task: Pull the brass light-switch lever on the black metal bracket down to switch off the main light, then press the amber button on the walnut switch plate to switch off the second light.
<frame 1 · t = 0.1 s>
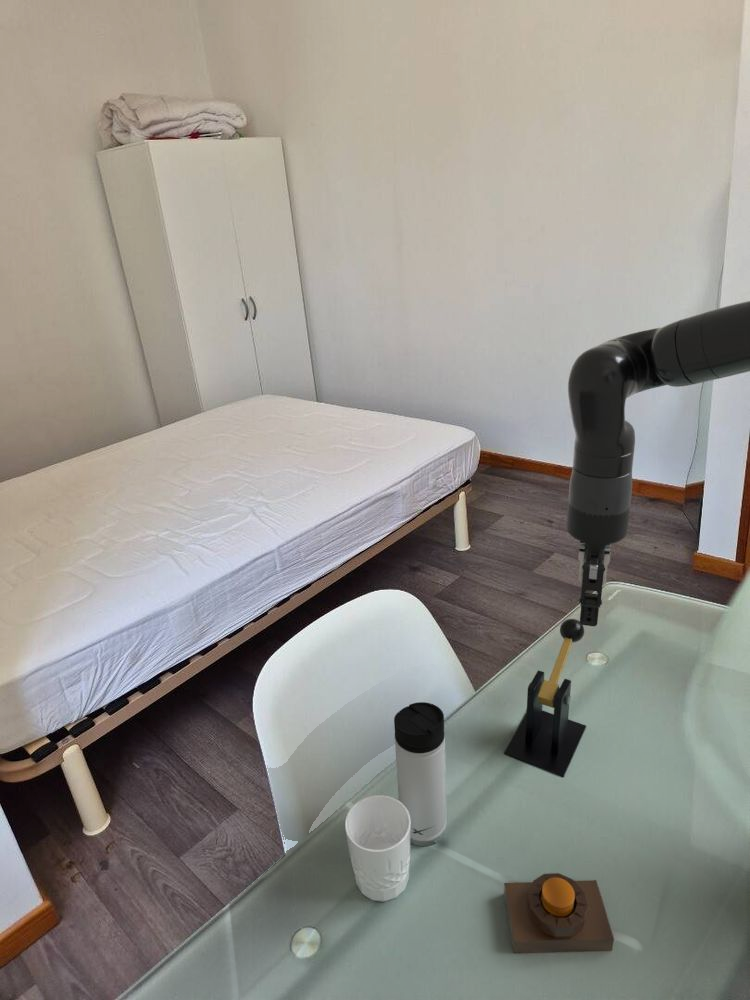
hand: (589, 606, 94), 25 cm above the table, tool pointing down, fingers open, 8 cm apart
off button: (557, 896, 78), point 4 cm above the table, slide at 0.1 cm
switch plate: (555, 921, 80), on the table
white cup: (382, 877, 87), on the table
travel mug: (424, 828, 93), on the table
switch lever: (561, 660, 103), point 12 cm above the table, hinge at 25.0°
switch bracket: (545, 744, 104), on the table
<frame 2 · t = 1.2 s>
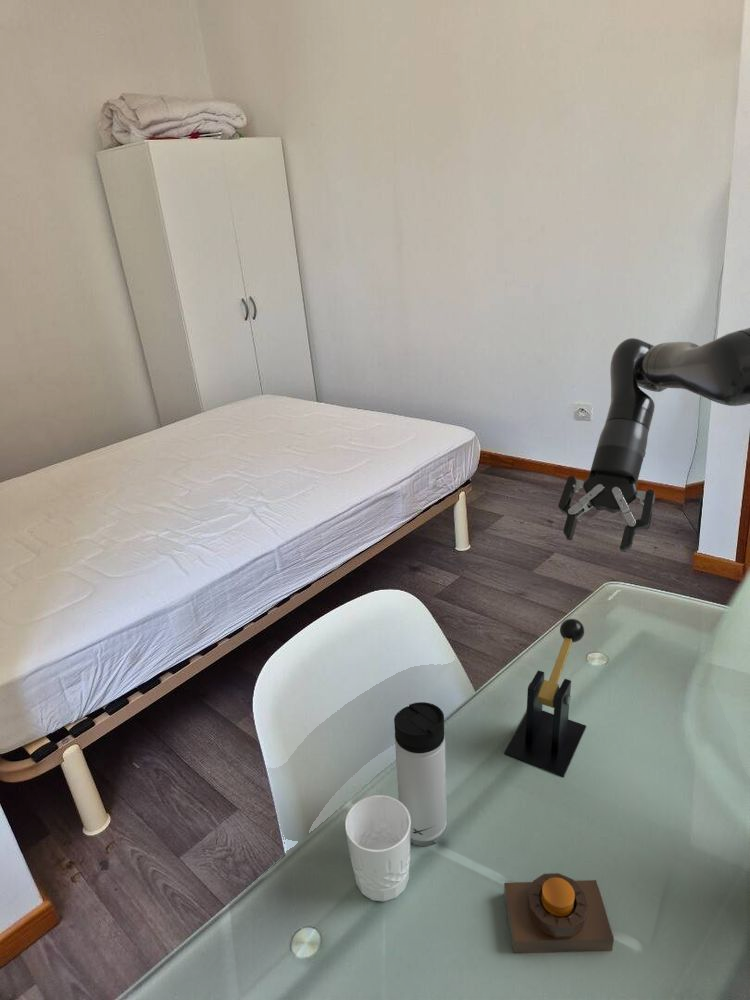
hand: (595, 544, 110), 24 cm above the table, tool tilted 45°, fingers open, 8 cm apart
nothing on the table moved.
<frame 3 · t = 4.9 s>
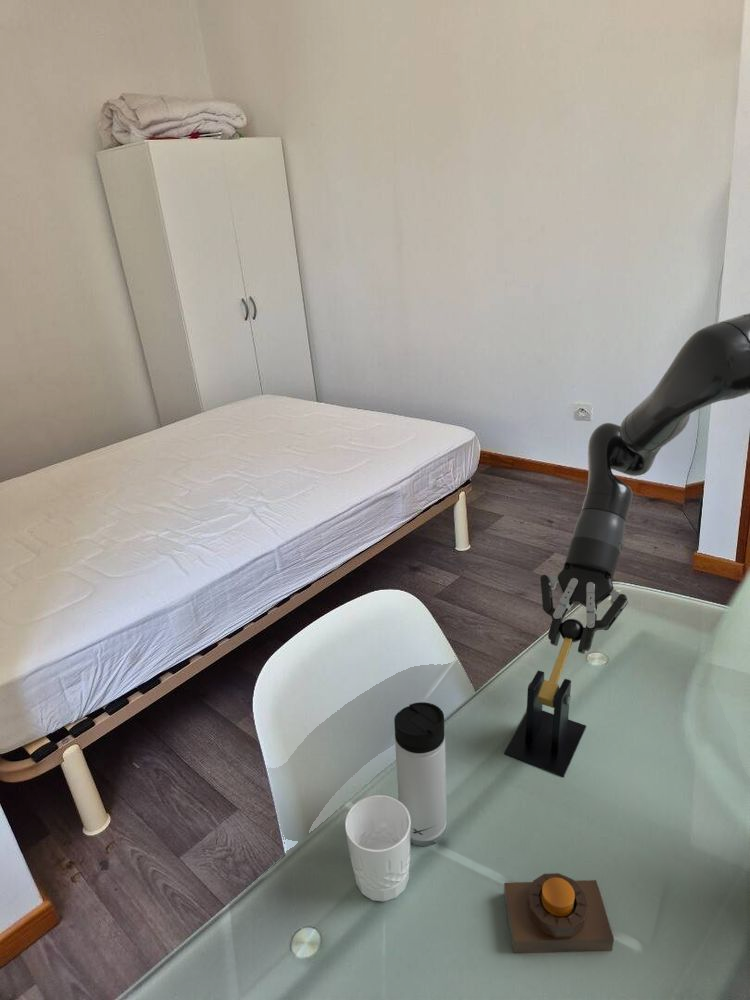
hand: (567, 648, 105), 13 cm above the table, tool tilted 45°, fingers closed on switch lever, 3 cm apart
switch lever: (561, 660, 103), point 12 cm above the table, hinge at 25.0°, touching gripper
everything else where it was.
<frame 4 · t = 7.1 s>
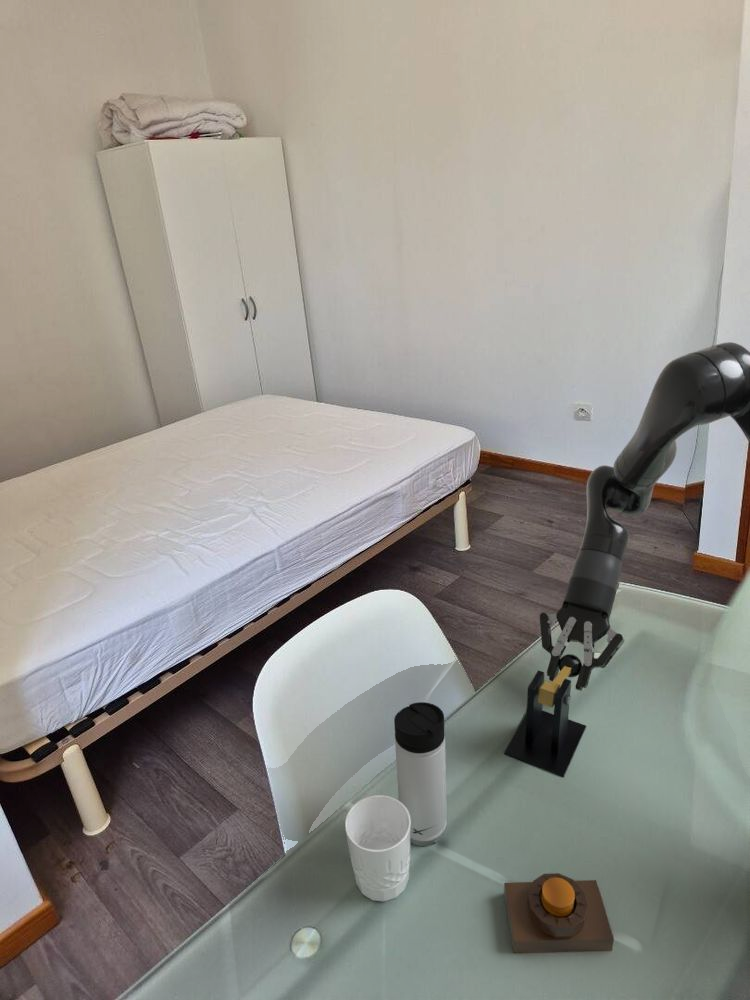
hand: (565, 684, 108), 5 cm above the table, tool tilted 45°, fingers closed on switch lever, 3 cm apart
switch lever: (560, 678, 105), point 9 cm above the table, hinge at -14.3°, touching gripper
everything else where it was.
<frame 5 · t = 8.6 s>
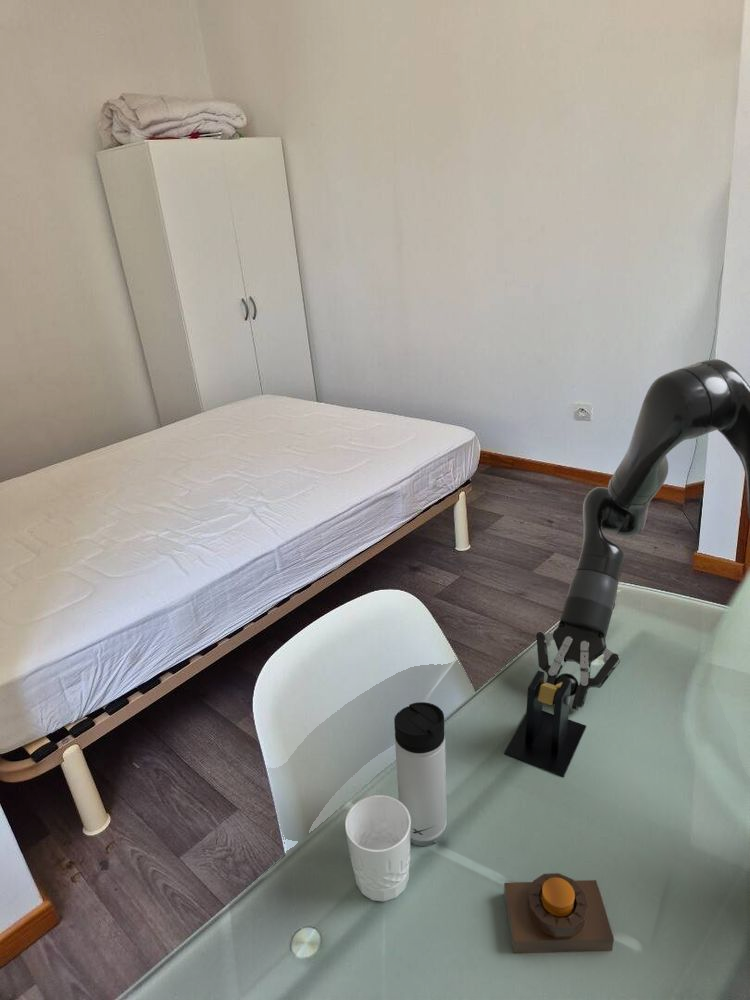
hand: (561, 704, 109), 2 cm above the table, tool tilted 45°, fingers closed on switch lever, 3 cm apart
switch lever: (558, 689, 105), point 7 cm above the table, hinge at -31.0°, touching gripper
everything else where it was.
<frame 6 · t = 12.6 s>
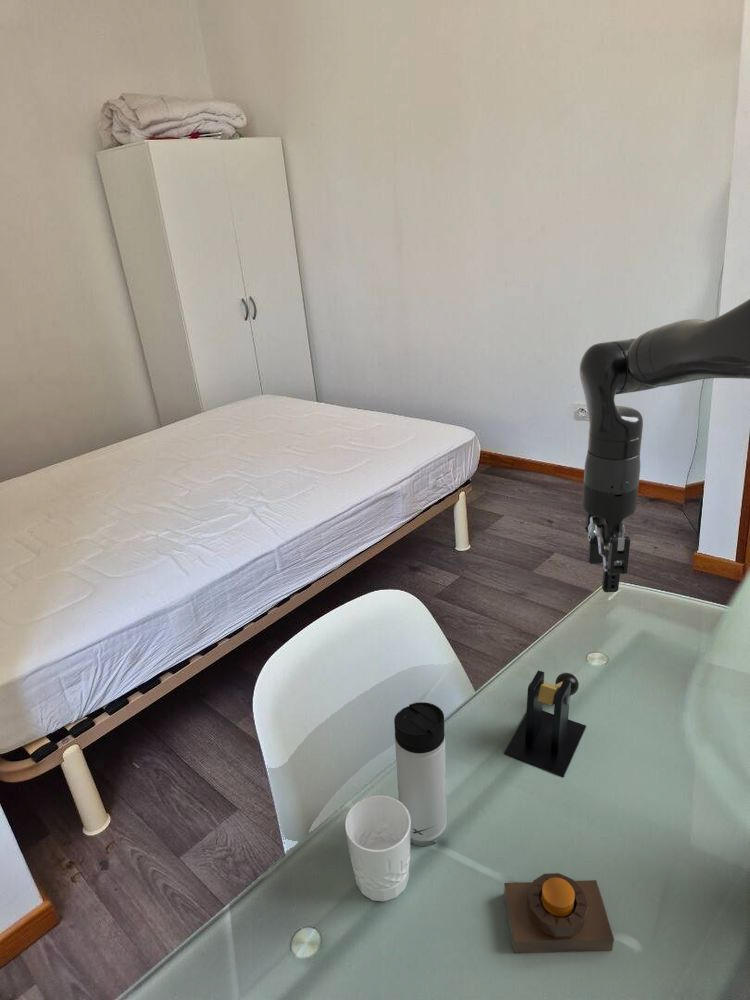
hand: (602, 576, 106), 22 cm above the table, tool pointing down, fingers open, 7 cm apart
switch lever: (558, 688, 105), point 7 cm above the table, hinge at -30.4°
everything else where it was.
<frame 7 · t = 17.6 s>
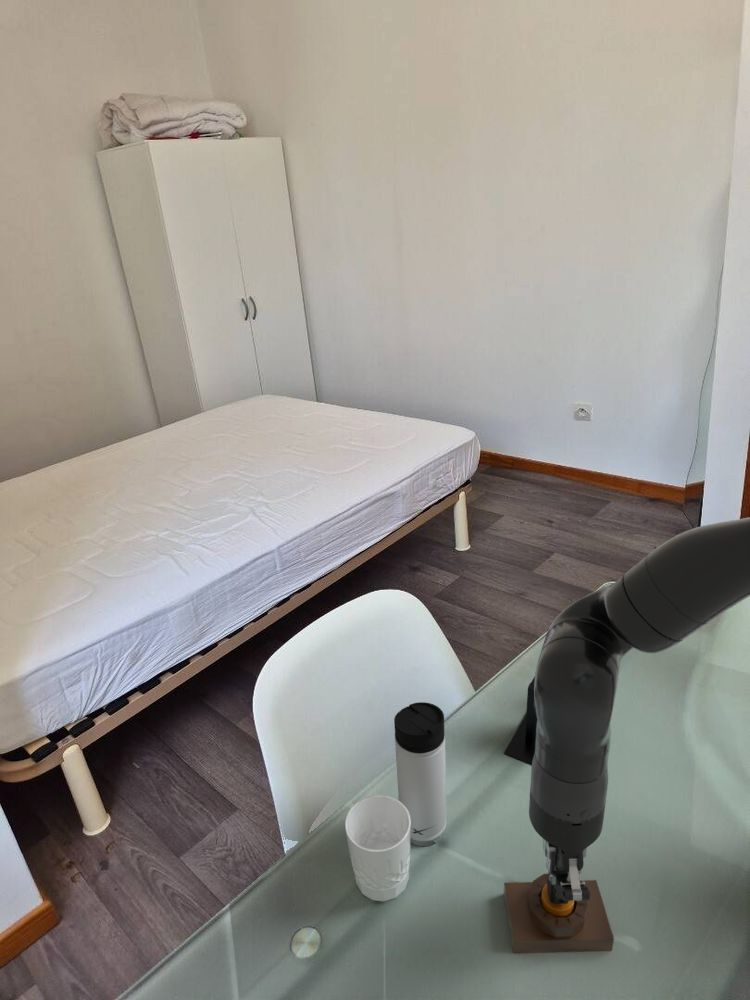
hand: (557, 897, 78), 5 cm above the table, tool pointing down, fingers closed
off button: (557, 900, 78), point 4 cm above the table, slide at -0.5 cm, touching gripper
everything else where it was.
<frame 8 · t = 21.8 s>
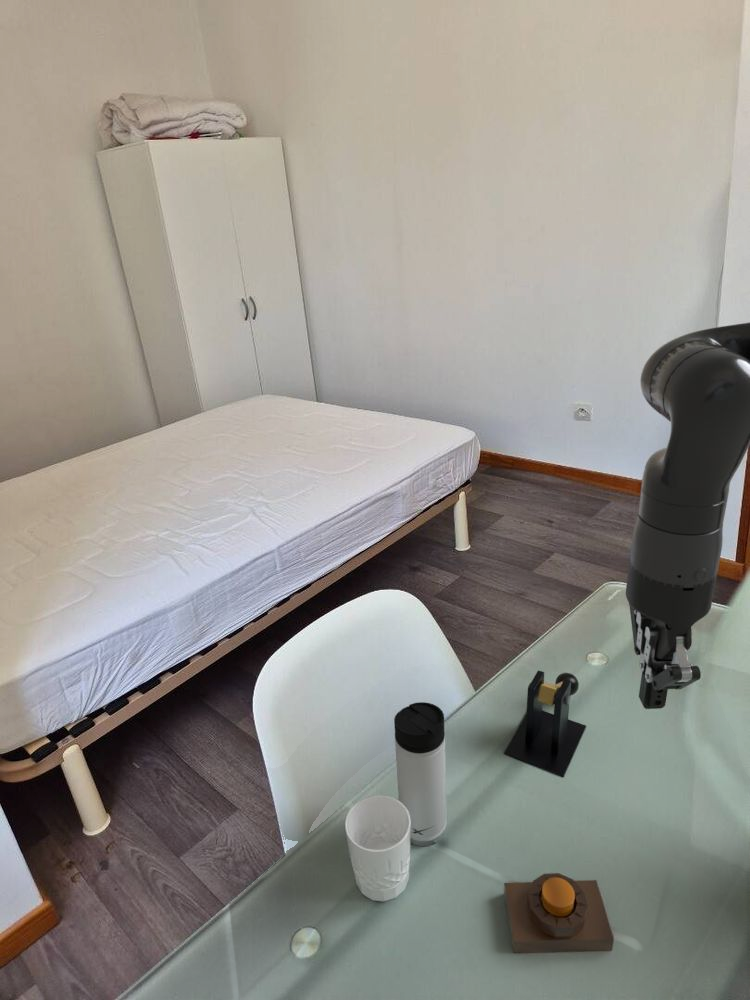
hand: (651, 703, 71), 29 cm above the table, tool pointing down, fingers closed
off button: (557, 896, 78), point 4 cm above the table, slide at 0.1 cm
everything else where it was.
at the end: switch lever at -30° (first picture: +25°); off button pushed in 1.1 cm at the most during the clip, back to where it started at the end; off button slide at 0.1 cm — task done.
